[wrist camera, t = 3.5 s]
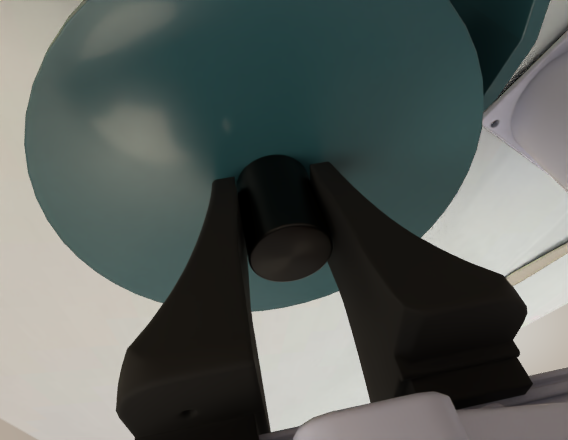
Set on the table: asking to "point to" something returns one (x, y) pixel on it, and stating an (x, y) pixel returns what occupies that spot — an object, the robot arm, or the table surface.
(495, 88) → the pot
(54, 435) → the table surface
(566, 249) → the fork
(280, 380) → the table surface
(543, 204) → the table surface
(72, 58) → the pot lid
